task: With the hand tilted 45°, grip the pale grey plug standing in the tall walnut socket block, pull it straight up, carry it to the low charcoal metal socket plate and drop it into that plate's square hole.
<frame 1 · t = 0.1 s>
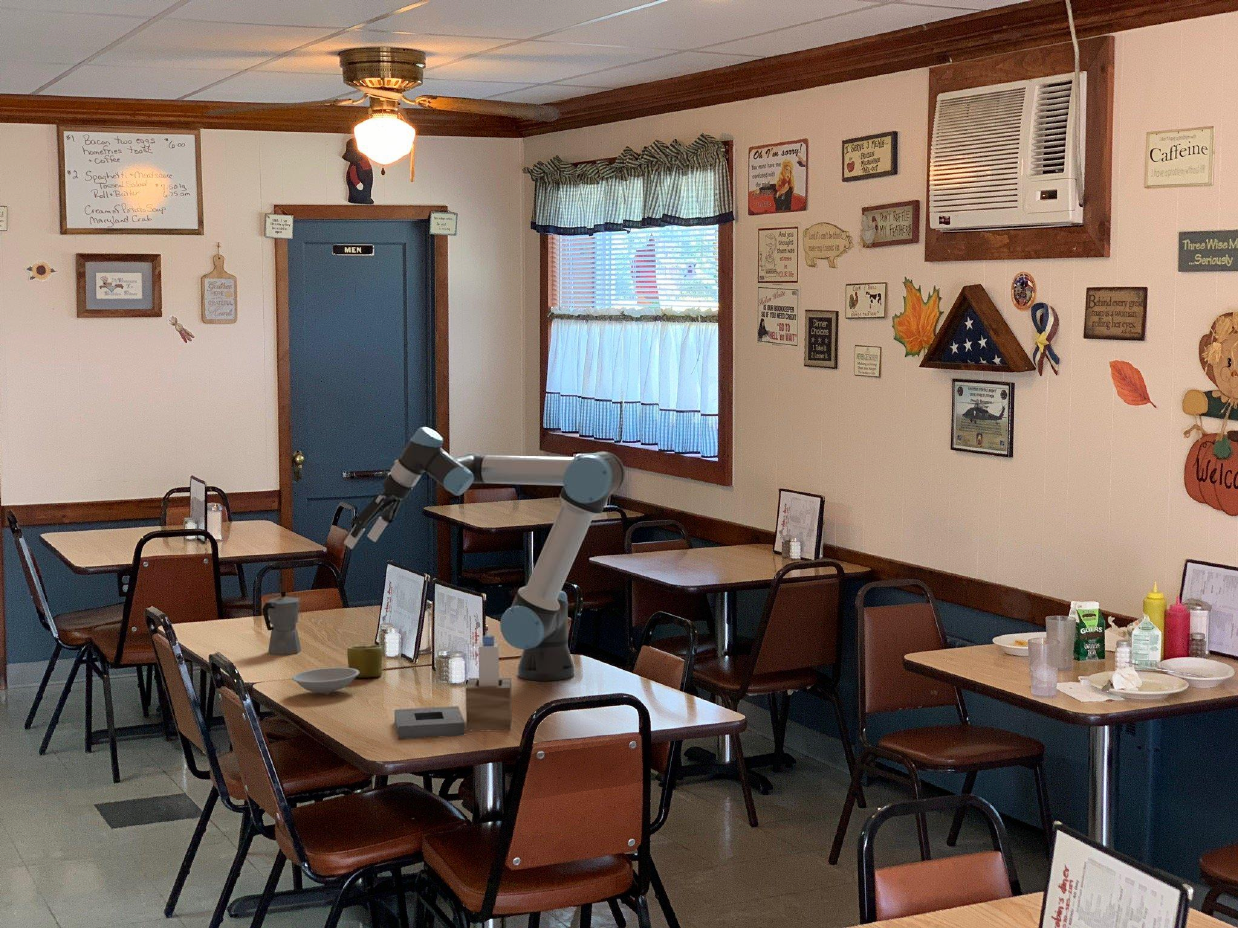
hand: (359, 542, 380), 36 cm above the table, fingers open, 13 cm apart
upper socket: (489, 724, 332), on the table
plug: (489, 695, 331), point 7 cm above the table, touching upper socket
dish: (326, 694, 362), on the table
coffeepot: (282, 653, 410), on the table
mug: (367, 675, 383), on the table
lower socket: (429, 728, 329), on the table
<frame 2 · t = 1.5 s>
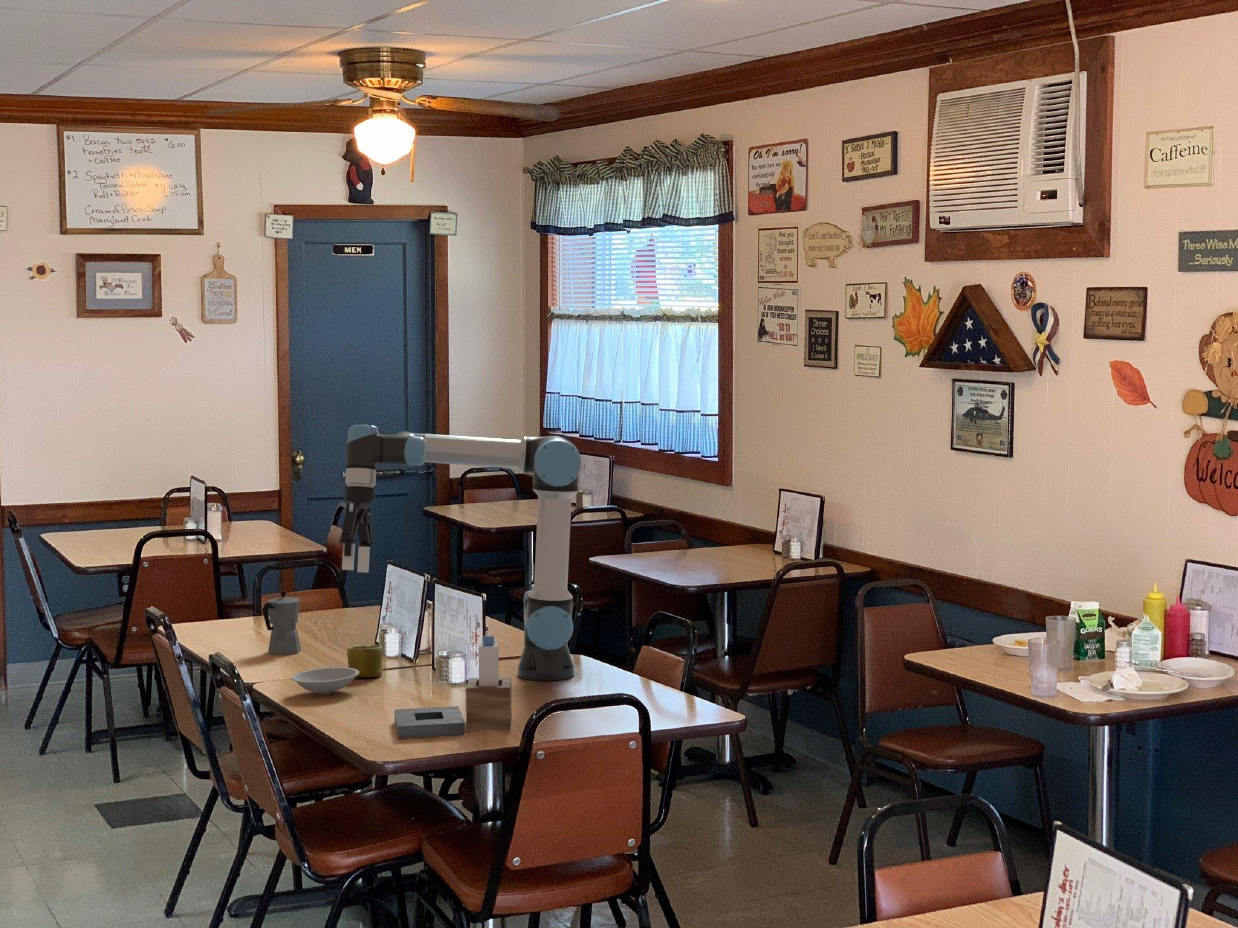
hand: (355, 571, 354), 32 cm above the table, fingers open, 13 cm apart
nothing on the table moved.
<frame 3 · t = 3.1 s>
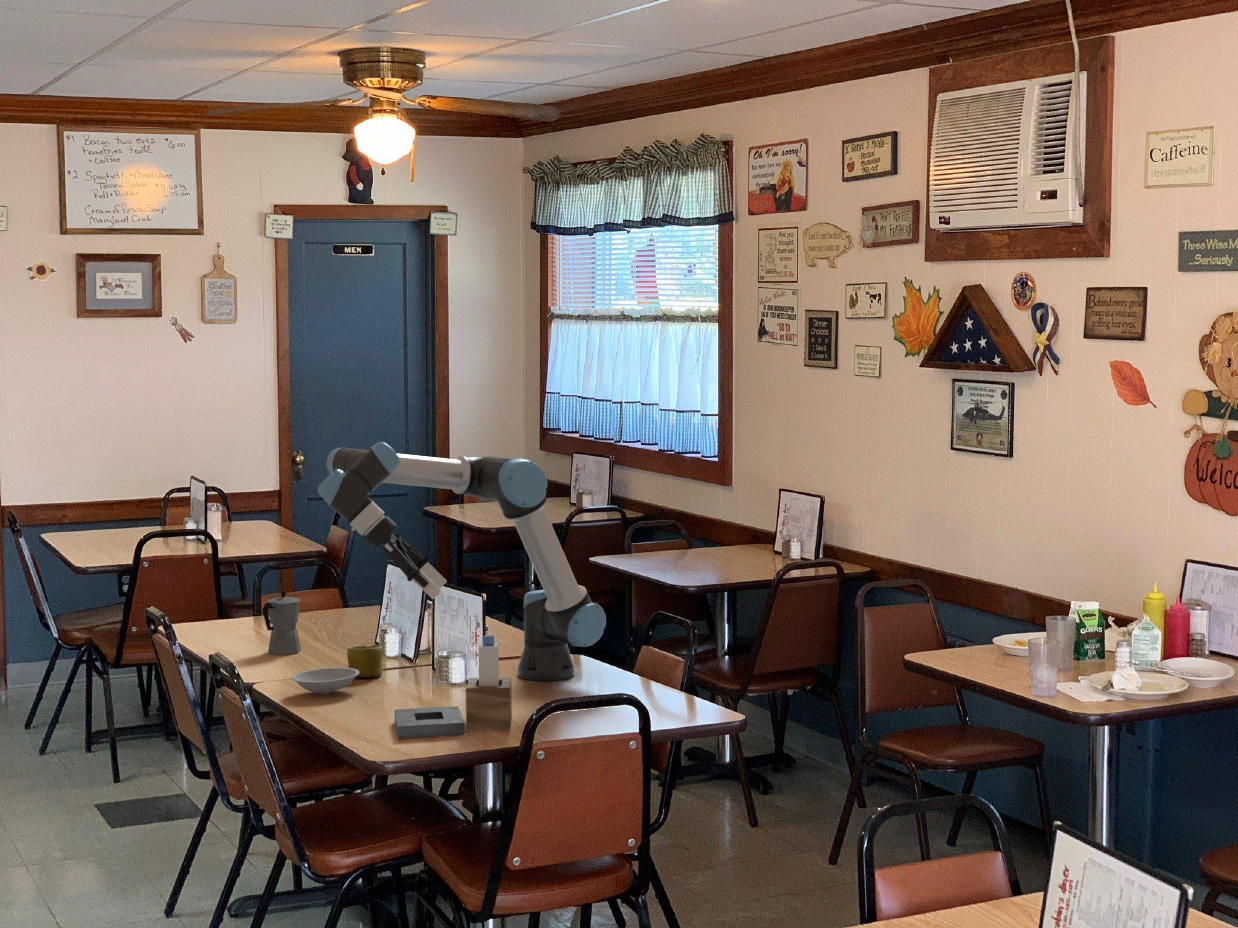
hand: (440, 590, 329), 32 cm above the table, fingers open, 13 cm apart
nothing on the table moved.
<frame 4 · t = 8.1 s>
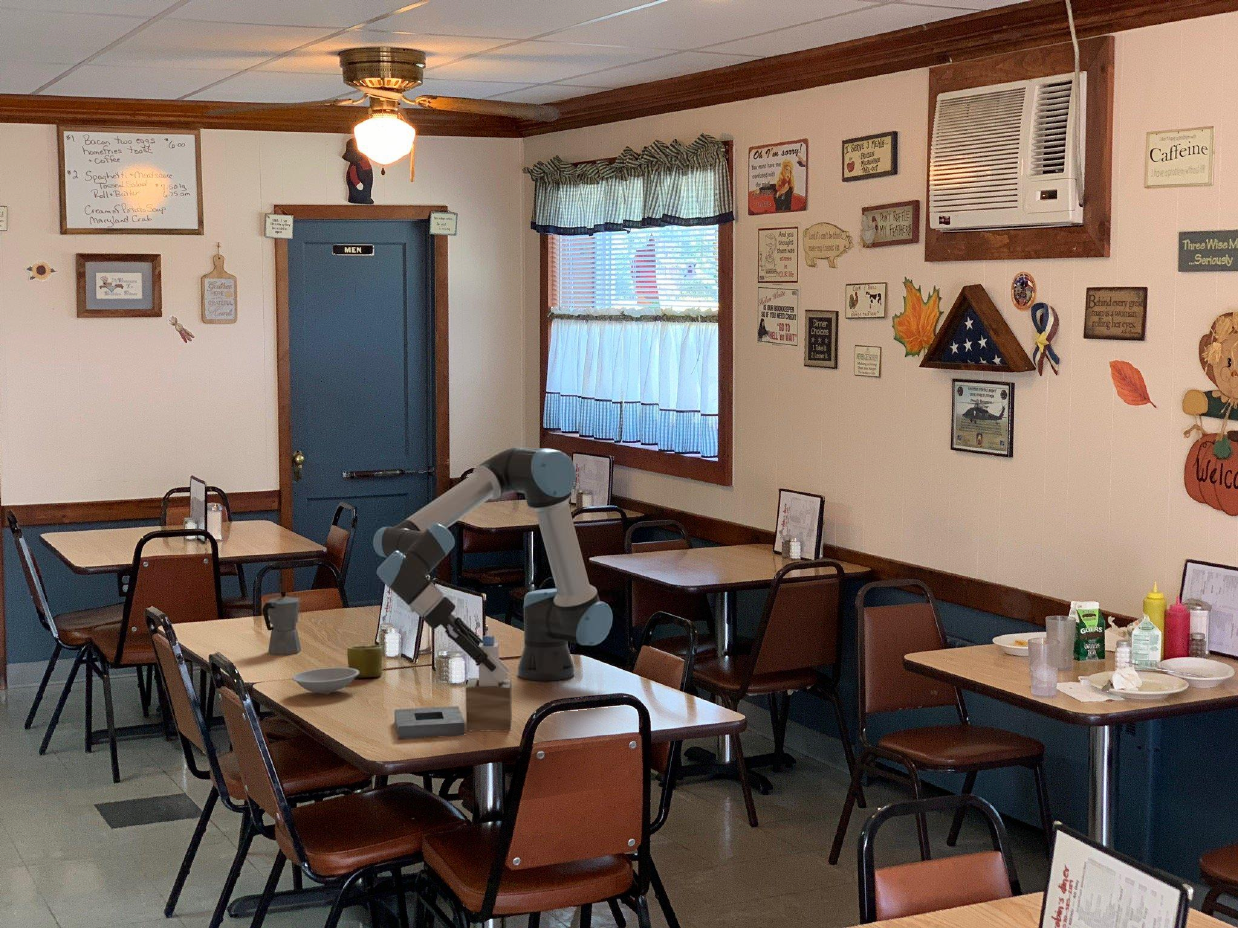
hand: (505, 675, 331), 12 cm above the table, fingers closed on plug, 4 cm apart
plug: (489, 695, 331), point 7 cm above the table, touching gripper, upper socket
everything else where it was.
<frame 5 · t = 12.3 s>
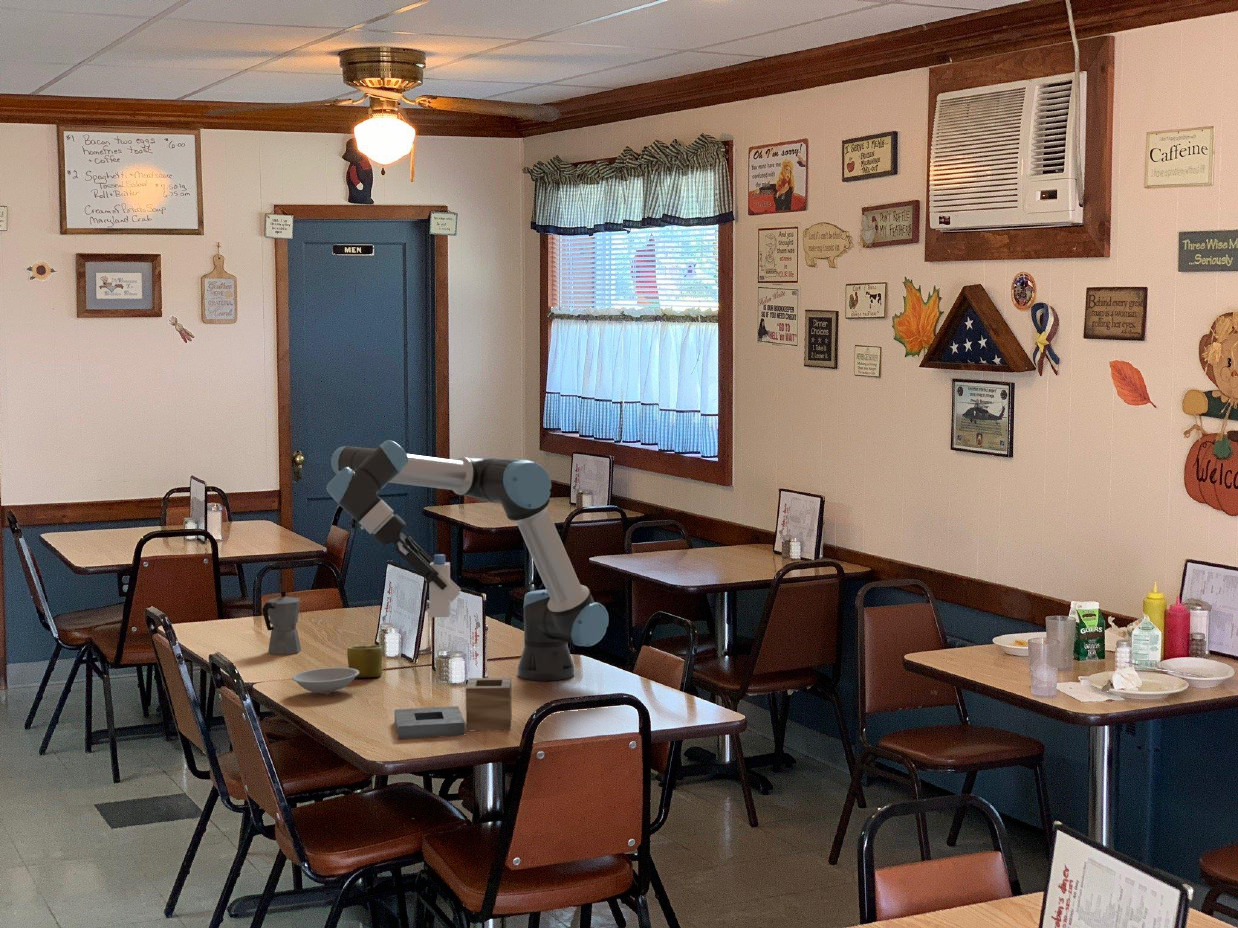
hand: (456, 595, 327), 31 cm above the table, fingers closed on plug, 4 cm apart
plug: (439, 615, 327), point 26 cm above the table, touching gripper
everything else where it was.
when the fingers open (7 cm above the table, at t = 16.4 s): plug drops 2 cm, resting on lower socket.
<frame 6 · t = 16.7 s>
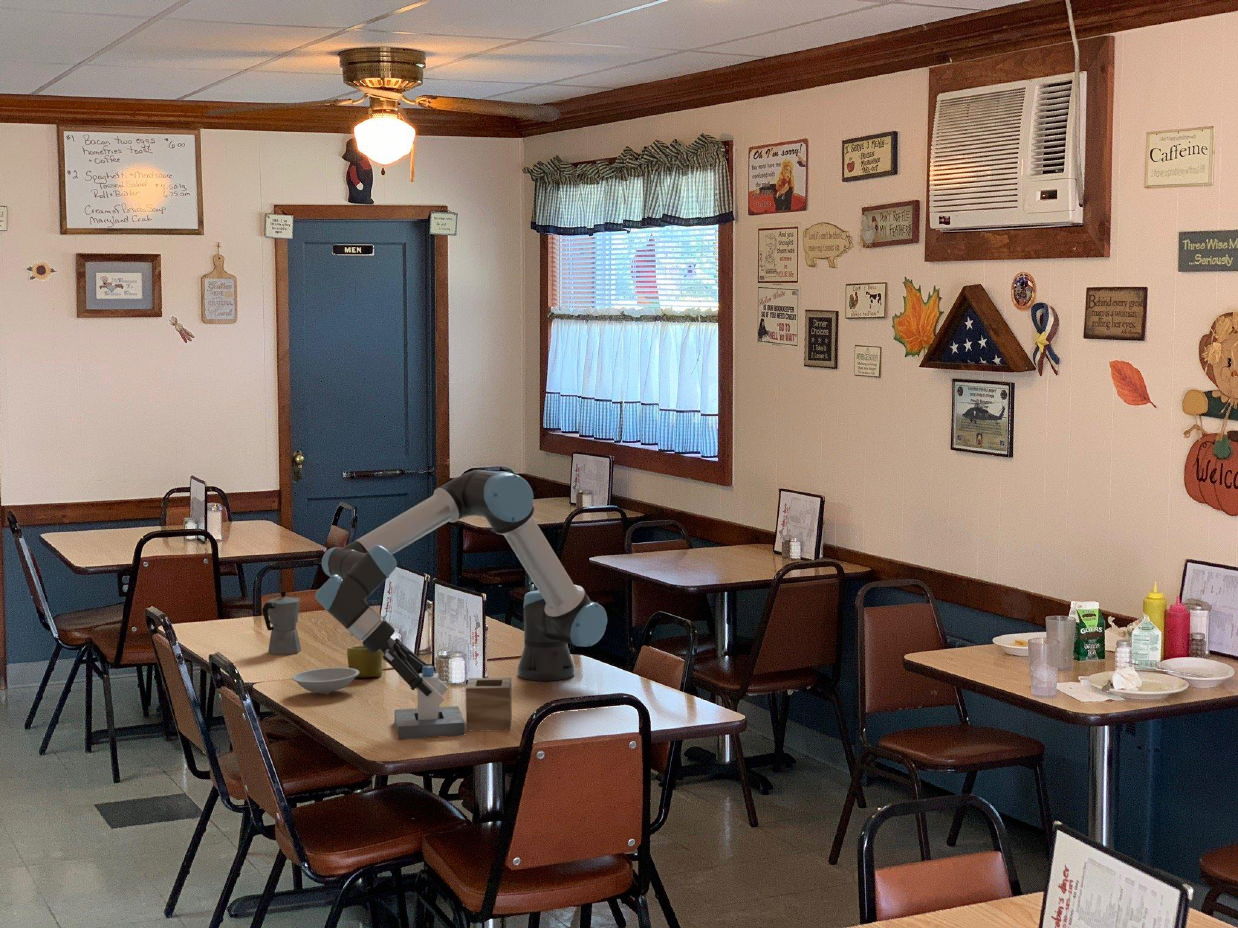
hand: (442, 697, 328), 7 cm above the table, fingers open, 9 cm apart
plug: (428, 726, 329), resting on lower socket
everything else where it was.
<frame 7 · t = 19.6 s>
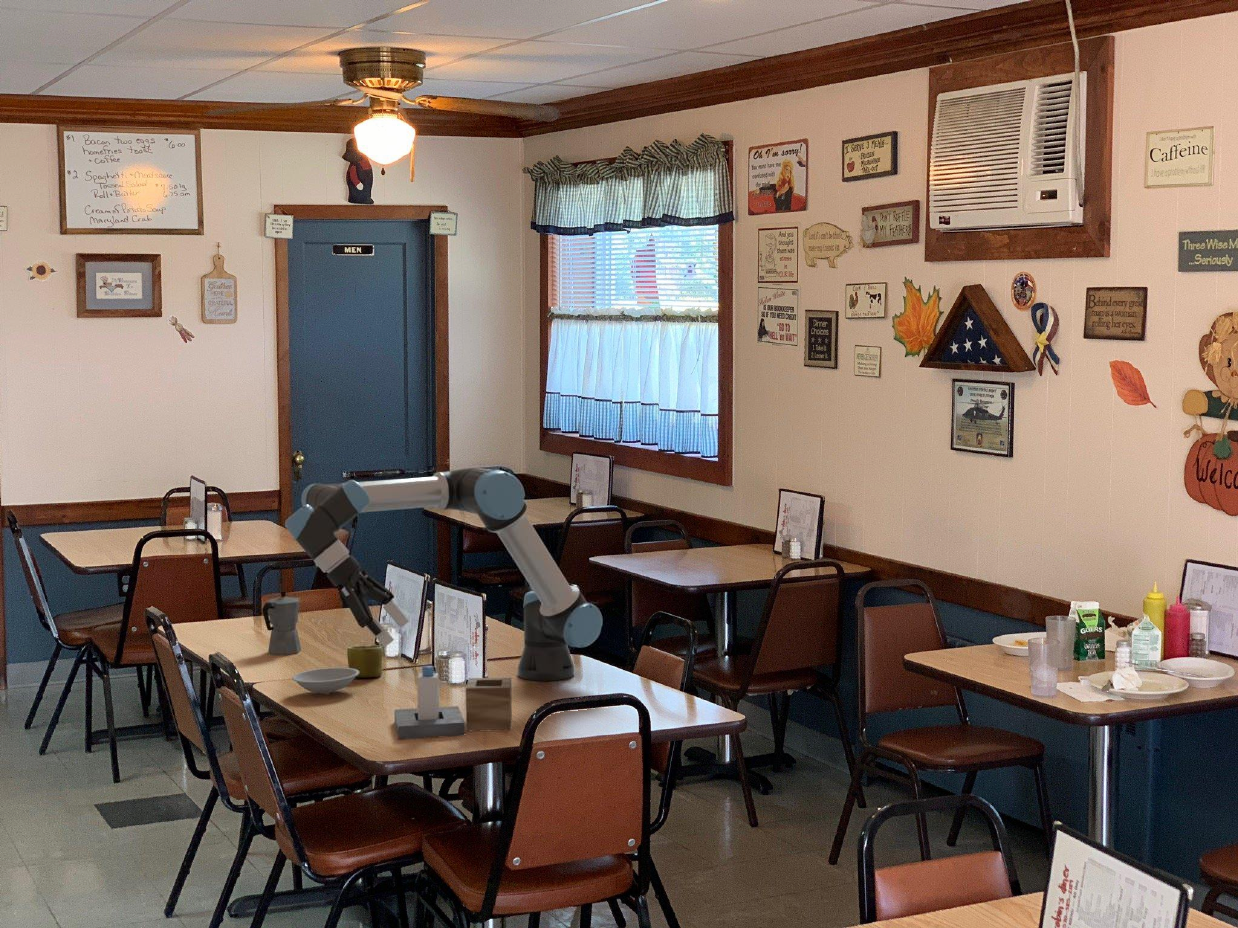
hand: (397, 633, 330), 22 cm above the table, fingers open, 13 cm apart
nothing on the table moved.
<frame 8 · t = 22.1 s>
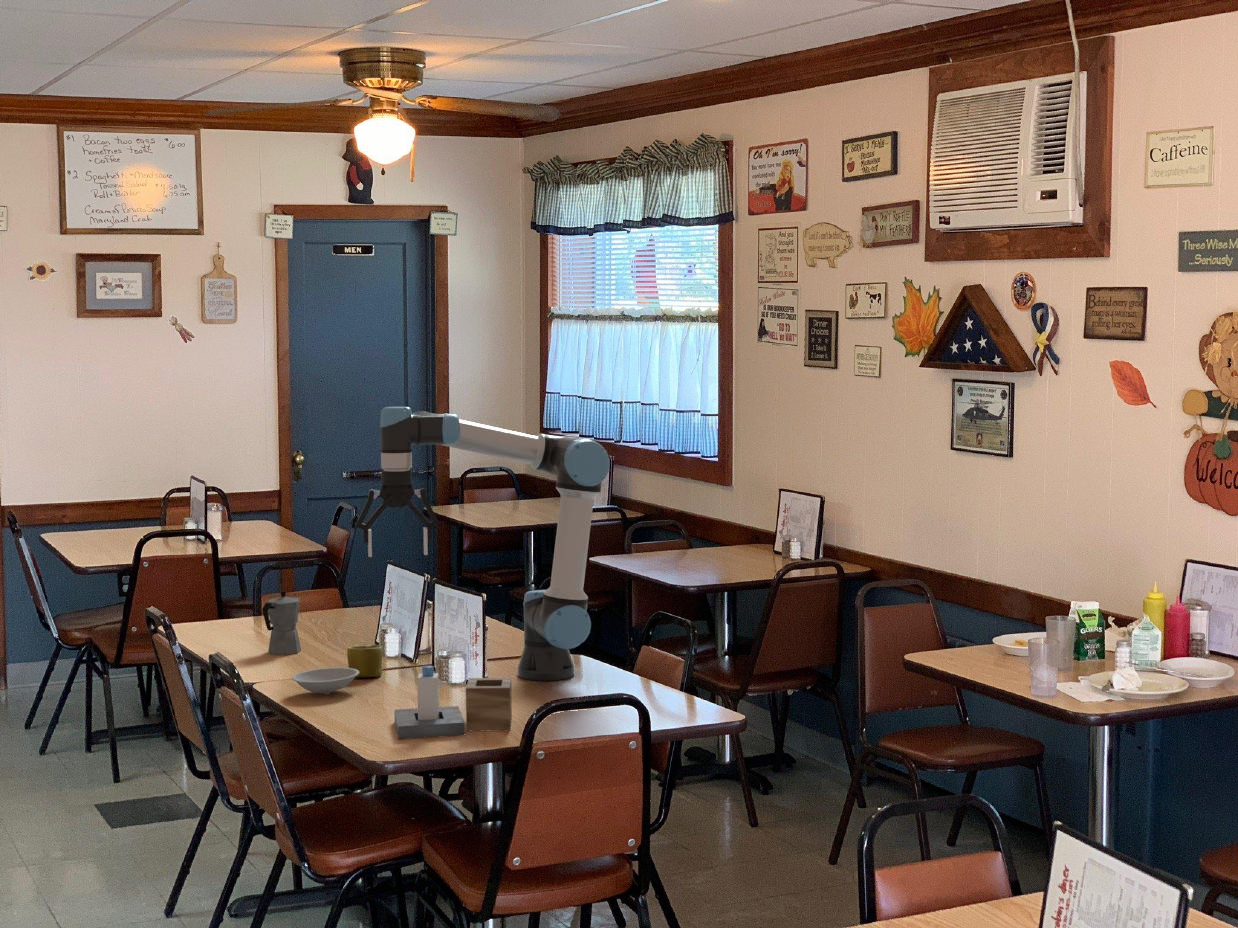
hand: (398, 555, 351), 37 cm above the table, fingers open, 13 cm apart
nothing on the table moved.
at the end: plug 0.1 cm off-centre on the lower socket, point 0.5 cm above the lower socket's base; plug tilted 0°; the gripper is holding nothing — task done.
